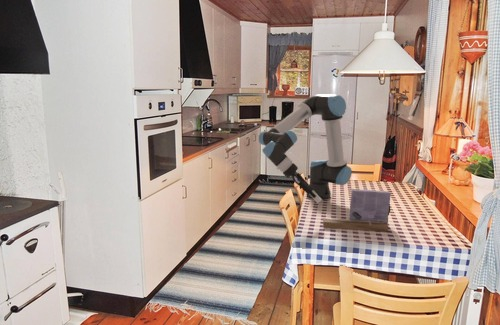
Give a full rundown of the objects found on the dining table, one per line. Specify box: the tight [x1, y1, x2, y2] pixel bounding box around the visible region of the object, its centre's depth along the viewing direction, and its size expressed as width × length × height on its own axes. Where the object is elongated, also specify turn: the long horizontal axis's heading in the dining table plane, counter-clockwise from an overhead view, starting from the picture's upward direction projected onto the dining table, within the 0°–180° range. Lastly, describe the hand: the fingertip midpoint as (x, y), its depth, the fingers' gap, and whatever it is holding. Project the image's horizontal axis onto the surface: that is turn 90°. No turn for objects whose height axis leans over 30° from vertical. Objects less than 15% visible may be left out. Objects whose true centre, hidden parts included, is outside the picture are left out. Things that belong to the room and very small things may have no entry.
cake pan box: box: [348, 188, 392, 226], centre depth 185 cm, size 19×5×18 cm, turn 80°
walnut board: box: [322, 218, 389, 233], centre depth 182 cm, size 5×30×3 cm, turn 80°
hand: (319, 201), depth 188 cm, fingers closed
